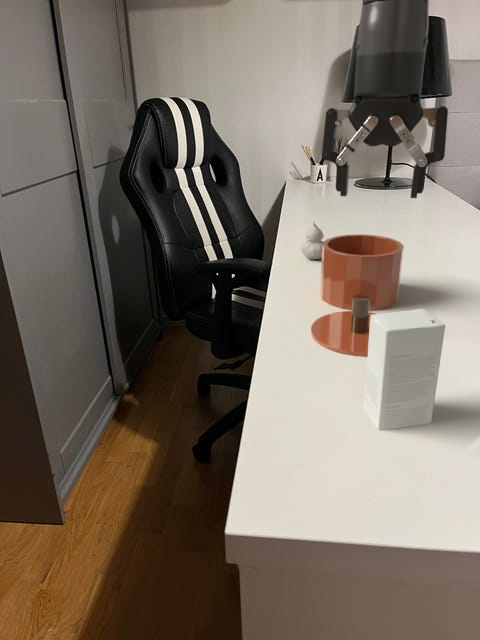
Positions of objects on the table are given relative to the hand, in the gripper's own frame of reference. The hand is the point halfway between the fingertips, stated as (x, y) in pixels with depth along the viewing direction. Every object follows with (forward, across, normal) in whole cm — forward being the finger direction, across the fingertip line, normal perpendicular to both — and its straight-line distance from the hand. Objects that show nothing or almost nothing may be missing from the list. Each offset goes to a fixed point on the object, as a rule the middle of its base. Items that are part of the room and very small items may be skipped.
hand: (377, 196), depth 63 cm
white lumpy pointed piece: (+20, +13, -35) cm, 42 cm away
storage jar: (+20, +2, -14) cm, 25 cm away
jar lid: (+20, +1, 0) cm, 20 cm away
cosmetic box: (+20, -5, +19) cm, 28 cm away
